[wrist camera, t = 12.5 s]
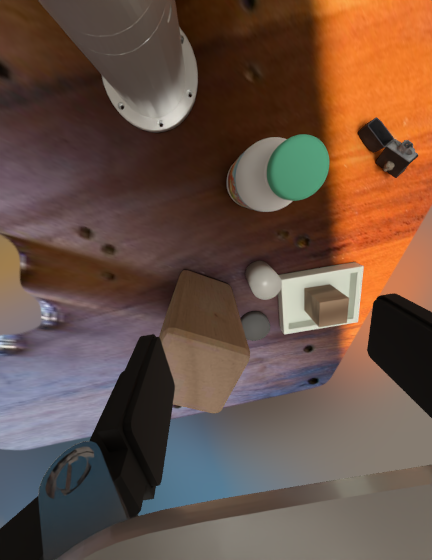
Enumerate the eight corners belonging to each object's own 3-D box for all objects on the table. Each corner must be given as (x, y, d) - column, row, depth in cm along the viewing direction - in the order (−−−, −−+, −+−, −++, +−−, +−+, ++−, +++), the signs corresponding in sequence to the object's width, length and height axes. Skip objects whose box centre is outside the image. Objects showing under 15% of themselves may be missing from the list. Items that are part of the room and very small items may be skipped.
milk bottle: (241, 144, 33) (291, 79, 14) (282, 172, 34) (373, 146, 16) (217, 192, 35) (231, 189, 17) (256, 215, 37) (309, 237, 18)
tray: (276, 275, 41) (281, 280, 39) (354, 261, 41) (363, 265, 39) (279, 327, 46) (284, 334, 43) (350, 315, 45) (357, 322, 43)
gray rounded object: (237, 312, 44) (238, 318, 42) (266, 308, 44) (269, 313, 42) (240, 336, 46) (242, 342, 44) (268, 332, 46) (270, 338, 44)
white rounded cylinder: (243, 263, 40) (250, 274, 34) (270, 258, 40) (281, 269, 34) (246, 287, 42) (253, 301, 36) (272, 283, 42) (282, 296, 36)
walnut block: (304, 288, 42) (319, 302, 36) (329, 284, 42) (349, 297, 36) (304, 310, 44) (318, 327, 38) (328, 306, 44) (346, 322, 38)
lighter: (348, 149, 36) (358, 124, 31) (360, 138, 36) (371, 111, 30) (391, 181, 34) (410, 161, 28) (404, 170, 33) (425, 148, 28)
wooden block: (232, 284, 41) (255, 357, 23) (213, 325, 45) (220, 419, 26) (182, 266, 39) (163, 330, 21) (167, 311, 43) (138, 400, 24)
